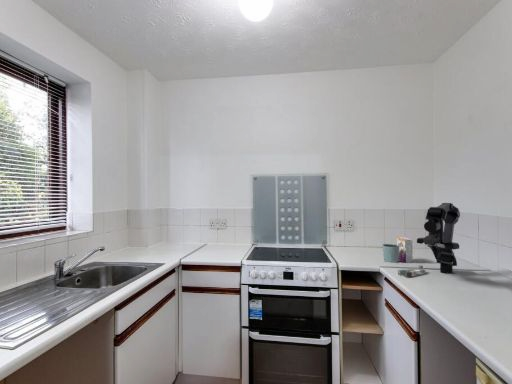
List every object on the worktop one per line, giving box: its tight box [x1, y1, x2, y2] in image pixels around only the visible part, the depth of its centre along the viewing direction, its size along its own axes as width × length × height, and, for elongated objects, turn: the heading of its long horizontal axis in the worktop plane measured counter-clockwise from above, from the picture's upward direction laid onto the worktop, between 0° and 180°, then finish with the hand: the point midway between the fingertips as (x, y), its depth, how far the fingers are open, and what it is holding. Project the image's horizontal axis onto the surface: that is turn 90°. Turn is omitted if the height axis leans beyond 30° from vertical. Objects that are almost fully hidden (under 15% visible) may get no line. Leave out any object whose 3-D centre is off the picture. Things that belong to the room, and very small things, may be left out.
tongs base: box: [403, 265, 426, 278], centre depth 145 cm, size 18×18×5 cm
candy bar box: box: [396, 236, 413, 264], centre depth 173 cm, size 11×5×16 cm, turn 179°
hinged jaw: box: [397, 267, 419, 276], centre depth 144 cm, size 14×2×3 cm, turn 105°
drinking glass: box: [382, 243, 399, 264], centre depth 170 cm, size 10×10×12 cm
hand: (436, 258), depth 136 cm, fingers closed
